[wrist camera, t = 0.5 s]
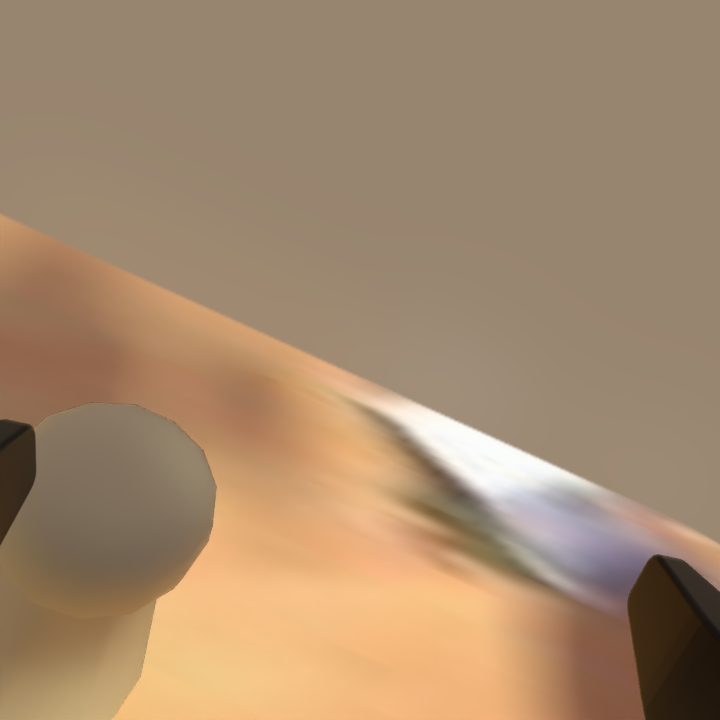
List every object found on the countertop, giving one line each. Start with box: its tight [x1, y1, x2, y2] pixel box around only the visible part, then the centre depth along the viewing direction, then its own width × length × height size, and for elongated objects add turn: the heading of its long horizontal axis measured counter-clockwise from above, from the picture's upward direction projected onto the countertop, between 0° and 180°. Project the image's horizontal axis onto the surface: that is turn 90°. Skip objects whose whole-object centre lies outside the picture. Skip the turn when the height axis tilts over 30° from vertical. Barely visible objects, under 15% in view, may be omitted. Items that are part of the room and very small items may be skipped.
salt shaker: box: [0, 402, 217, 720], centre depth 17 cm, size 6×6×13 cm
